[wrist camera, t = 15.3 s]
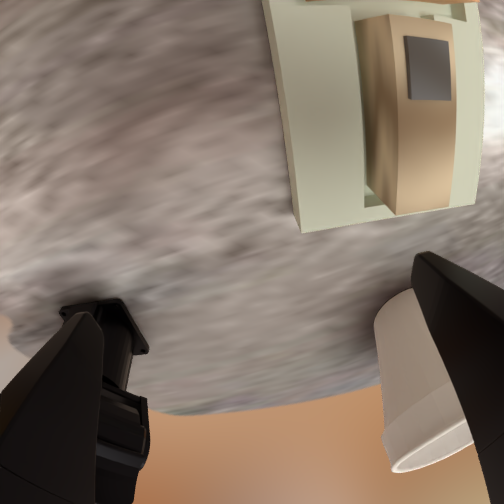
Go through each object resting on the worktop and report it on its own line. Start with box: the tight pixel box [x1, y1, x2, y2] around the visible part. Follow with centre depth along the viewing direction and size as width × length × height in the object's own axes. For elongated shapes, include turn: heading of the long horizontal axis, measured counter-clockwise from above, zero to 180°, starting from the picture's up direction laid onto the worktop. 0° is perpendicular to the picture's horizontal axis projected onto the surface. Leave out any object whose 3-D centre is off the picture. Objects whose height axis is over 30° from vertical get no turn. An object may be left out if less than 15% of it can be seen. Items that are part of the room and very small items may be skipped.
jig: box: [261, 0, 485, 233], centre depth 14 cm, size 19×13×2 cm
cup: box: [374, 288, 474, 473], centre depth 21 cm, size 12×12×14 cm
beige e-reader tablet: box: [354, 14, 457, 216], centre depth 14 cm, size 10×4×4 cm, turn 9°
